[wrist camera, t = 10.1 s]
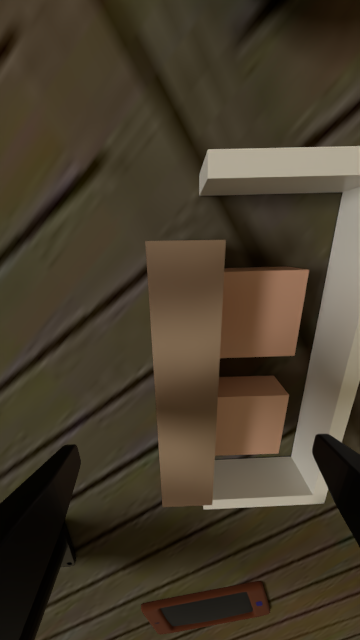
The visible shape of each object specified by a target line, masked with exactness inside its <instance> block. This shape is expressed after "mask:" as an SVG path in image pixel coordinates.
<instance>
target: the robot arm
mask: <svg viewBox="0 0 360 640" xmlns="http://www.w3.org/2000/svg"><path fill="white" fill-rule="evenodd" d="M312 454H313V457H314V459H315V461H316V463H317V466H318V468H319V470H320V472H321V474H322V476H323V478H324V481H325V483H326V485H327V487H328V489H329V491H330V493H331V496H332V498H333V500H334V502H335V504H336V506H337V508H338V509H339V511H340V513H341V515H342V517H343V518H344V520H345V522H346V524H347V525H348V527H349V529H350V531H351V532H352V534H353V536H354V538H355V540H356V541H357V543H358V545H359V547H360V454H358V453H357V452H355V451H354V450H352V449H351V448H349V447H348V446H346V445H345V444H343V443H342V442H340V441H339V440H337V439H336V438H334V437H333V436H331V435H329V434H317V435H316V436H315V439H314V443H313V448H312ZM80 464H81V460H80V456H79V452H78V448H77V446H76V445H75V444H73V445H64V446H63V447H62V448H61V449H59V450H58V451H57V452H56V453H55V454H54V455H53V456H52V457H51V458H50V459H48V460H47V461H46V462H45V463H44V464H43V465H42V466H41V467H40V468H39V469H38V470H36V471H35V472H34V473H33V474H32V475H31V476H30V477H29V478H28V479H27V480H26V481H24V482H23V483H22V484H21V485H20V486H19V487H18V488H17V489H16V490H15V491H14V492H12V493H11V494H10V495H9V496H8V497H7V498H6V499H5V500H4V501H3V502H1V503H0V640H35V637H36V634H37V631H38V629H39V626H40V623H41V620H42V617H43V615H44V612H45V609H46V606H47V603H48V601H49V598H50V595H51V592H52V589H53V587H54V584H55V581H56V578H57V575H58V573H59V570H60V567H70V566H74V565H75V561H76V556H75V552H74V549H73V546H72V543H71V540H70V537H69V534H68V531H67V528H66V525H65V523H64V520H65V517H66V514H67V510H68V507H69V504H70V500H71V497H72V493H73V490H74V486H75V483H76V479H77V476H78V472H79V469H80Z"/></svg>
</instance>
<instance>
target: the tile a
mask: <svg viewBox="0 0 360 640" xmlns="http://www.w3.org/2000/svg"><path fill="white" fill-rule="evenodd" d="M288 399H289V394H288V393H287V392H286V390H285V389H284V388H283V387H282V385H281V384H280V383H279V382H278V380H277V379H276V378H275V376H238V377H219V384H218V403H217V423H216V443H215V455H246V454H277V453H279V448H280V443H281V437H282V432H283V426H284V421H285V416H286V410H287V405H288Z"/></svg>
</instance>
